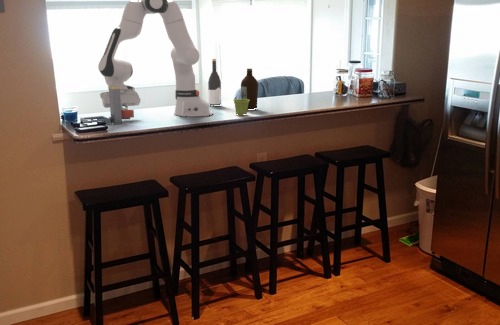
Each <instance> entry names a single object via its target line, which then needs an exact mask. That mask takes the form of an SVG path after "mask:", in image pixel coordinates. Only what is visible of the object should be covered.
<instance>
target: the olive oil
mask: <svg viewBox="0 0 500 325" xmlns="http://www.w3.org/2000/svg"><path fill="white" fill-rule="evenodd" d="M258 91H259V83H258V79H256V77H254V75H253V68H246V75H245V77H244V78H243V79H241V83H240V97H241V98H240V99H247V100H250V101H249V104H248V109H254V108H257V109H258V98H259V97H258V96H259V95H258V94H259V92H258Z"/></svg>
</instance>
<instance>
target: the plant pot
mask: <svg viewBox="0 0 500 325" xmlns="http://www.w3.org/2000/svg"><path fill="white" fill-rule="evenodd" d="M249 101H250V100H247V99H241V98H236V99H235V98H234V99H233V103H234V108H235V115H236V114H238V115H241V116H243V115H242V114H247V115H248V111H247V109H248V104H249ZM238 115H237V116H238Z"/></svg>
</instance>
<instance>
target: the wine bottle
mask: <svg viewBox="0 0 500 325" xmlns="http://www.w3.org/2000/svg"><path fill="white" fill-rule="evenodd" d="M211 62H212V63H211V64H212V65H211V66H212V71H211V73H210V76H209V78H208V83H207V86H208V105H209V104H210V105H220V104H221V105H222V82H221V77H220V75H219V74H218V71H217V58H212V61H211Z"/></svg>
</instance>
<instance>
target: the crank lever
mask: <svg viewBox="0 0 500 325" xmlns="http://www.w3.org/2000/svg"><path fill="white" fill-rule="evenodd" d="M121 116H122V120H131V118H135V111H134V109H128V110H121ZM108 118H110V119H111V116H109V117H108Z"/></svg>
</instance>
